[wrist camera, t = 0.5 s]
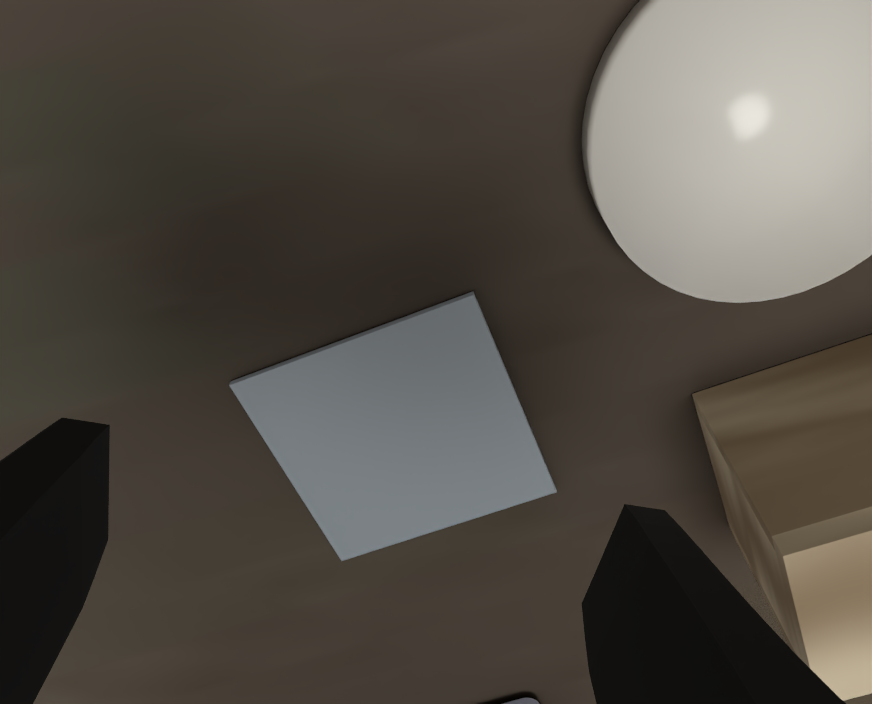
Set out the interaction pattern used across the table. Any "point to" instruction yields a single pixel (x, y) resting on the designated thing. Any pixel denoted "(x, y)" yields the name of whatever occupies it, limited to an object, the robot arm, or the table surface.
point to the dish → (735, 143)
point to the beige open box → (804, 500)
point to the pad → (399, 428)
